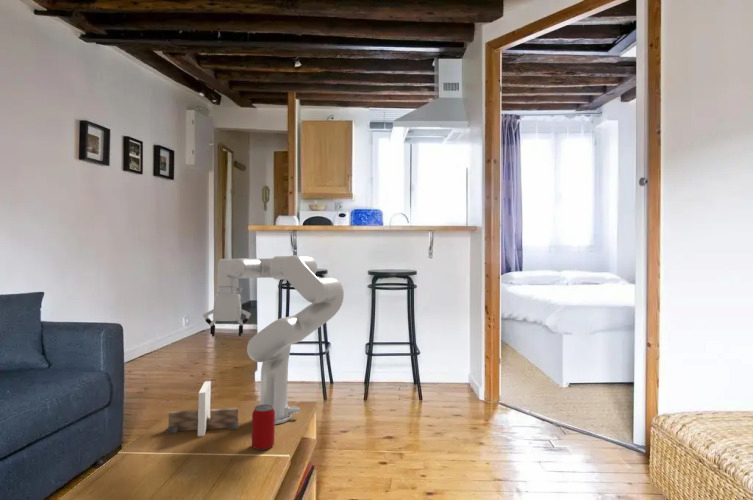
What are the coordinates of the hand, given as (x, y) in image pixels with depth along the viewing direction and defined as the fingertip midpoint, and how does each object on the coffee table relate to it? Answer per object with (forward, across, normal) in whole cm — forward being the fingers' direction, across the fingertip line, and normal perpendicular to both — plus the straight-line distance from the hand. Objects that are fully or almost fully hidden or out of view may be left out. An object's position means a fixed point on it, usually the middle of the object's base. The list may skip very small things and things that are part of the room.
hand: (226, 335), depth 169 cm
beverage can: (+28, -15, +36) cm, 48 cm away
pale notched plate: (+28, +5, +17) cm, 33 cm away
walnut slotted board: (+28, +5, +17) cm, 33 cm away
